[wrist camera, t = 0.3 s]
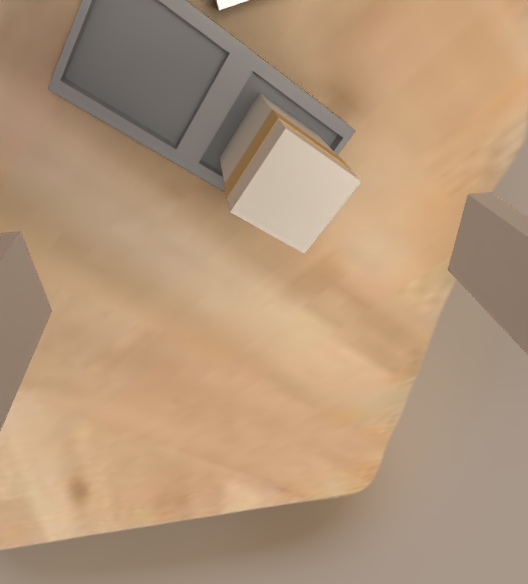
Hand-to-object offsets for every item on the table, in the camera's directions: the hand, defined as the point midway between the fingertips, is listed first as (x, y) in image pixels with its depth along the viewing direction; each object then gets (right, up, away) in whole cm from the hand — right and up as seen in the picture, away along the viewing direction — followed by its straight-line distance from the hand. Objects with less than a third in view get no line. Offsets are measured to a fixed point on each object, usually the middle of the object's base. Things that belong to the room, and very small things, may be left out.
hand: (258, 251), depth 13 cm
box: (+1, +11, +23) cm, 25 cm away
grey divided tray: (-4, +14, +21) cm, 26 cm away
